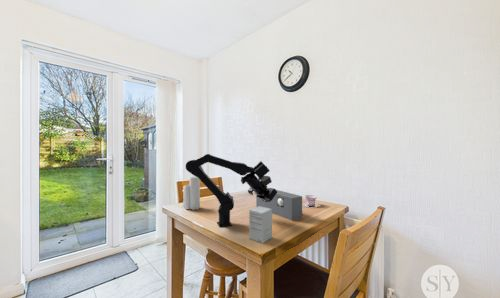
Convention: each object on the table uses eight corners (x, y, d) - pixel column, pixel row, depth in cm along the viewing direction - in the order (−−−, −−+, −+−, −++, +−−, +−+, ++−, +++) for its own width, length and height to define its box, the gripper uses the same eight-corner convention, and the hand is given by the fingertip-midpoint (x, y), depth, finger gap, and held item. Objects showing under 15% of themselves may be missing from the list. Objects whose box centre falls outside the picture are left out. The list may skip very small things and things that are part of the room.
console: (291, 220, 114) (291, 198, 114) (256, 206, 140) (256, 188, 140) (302, 217, 119) (302, 196, 119) (265, 204, 145) (265, 187, 145)
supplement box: (259, 233, 98) (259, 205, 98) (272, 237, 93) (272, 208, 93) (248, 238, 92) (248, 209, 92) (262, 243, 87) (262, 212, 87)
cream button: (282, 206, 120) (282, 199, 120) (277, 205, 123) (277, 197, 123) (285, 206, 121) (285, 198, 121) (279, 204, 124) (279, 197, 124)
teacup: (304, 202, 152) (304, 193, 151) (322, 204, 145) (322, 195, 145) (299, 206, 141) (299, 197, 141) (318, 209, 135) (318, 199, 135)
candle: (201, 207, 140) (201, 176, 140) (197, 210, 133) (196, 178, 133) (185, 206, 142) (185, 176, 142) (180, 209, 135) (179, 177, 135)
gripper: (274, 173, 107) (289, 192, 113) (252, 169, 122) (267, 187, 128) (262, 190, 102) (278, 210, 109) (240, 184, 117) (256, 202, 124)
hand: (270, 201), depth 117 cm, fingers closed
